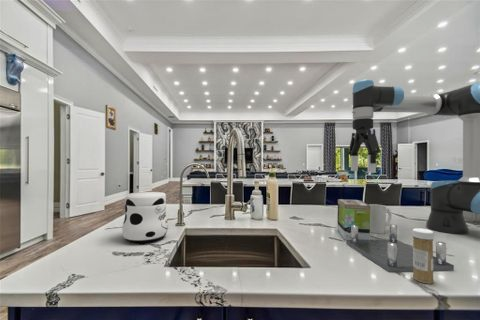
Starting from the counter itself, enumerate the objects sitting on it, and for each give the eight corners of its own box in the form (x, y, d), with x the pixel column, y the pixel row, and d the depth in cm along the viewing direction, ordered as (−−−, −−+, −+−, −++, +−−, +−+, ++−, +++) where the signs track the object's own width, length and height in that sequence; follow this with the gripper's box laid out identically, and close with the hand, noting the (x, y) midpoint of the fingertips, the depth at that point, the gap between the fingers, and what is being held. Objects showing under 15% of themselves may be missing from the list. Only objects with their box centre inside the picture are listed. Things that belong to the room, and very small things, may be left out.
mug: (374, 234, 107) (374, 206, 107) (365, 229, 113) (365, 204, 113) (396, 233, 107) (396, 206, 107) (386, 229, 114) (386, 204, 114)
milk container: (176, 238, 99) (176, 194, 100) (133, 249, 87) (134, 198, 87) (155, 229, 111) (155, 190, 111) (115, 238, 99) (115, 194, 99)
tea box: (371, 242, 96) (371, 204, 96) (343, 240, 98) (344, 203, 98) (360, 231, 111) (360, 199, 111) (336, 230, 113) (336, 198, 113)
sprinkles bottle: (438, 283, 63) (438, 231, 64) (424, 285, 62) (424, 232, 63) (421, 275, 68) (421, 227, 68) (408, 277, 67) (408, 228, 67)
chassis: (395, 242, 95) (395, 223, 95) (453, 270, 71) (453, 244, 71) (346, 243, 94) (346, 224, 94) (388, 272, 70) (388, 246, 70)
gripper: (340, 124, 111) (340, 170, 111) (370, 113, 86) (370, 172, 86) (356, 124, 111) (356, 170, 111) (391, 113, 86) (391, 173, 86)
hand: (362, 171), depth 98 cm, fingers open, 13 cm apart
